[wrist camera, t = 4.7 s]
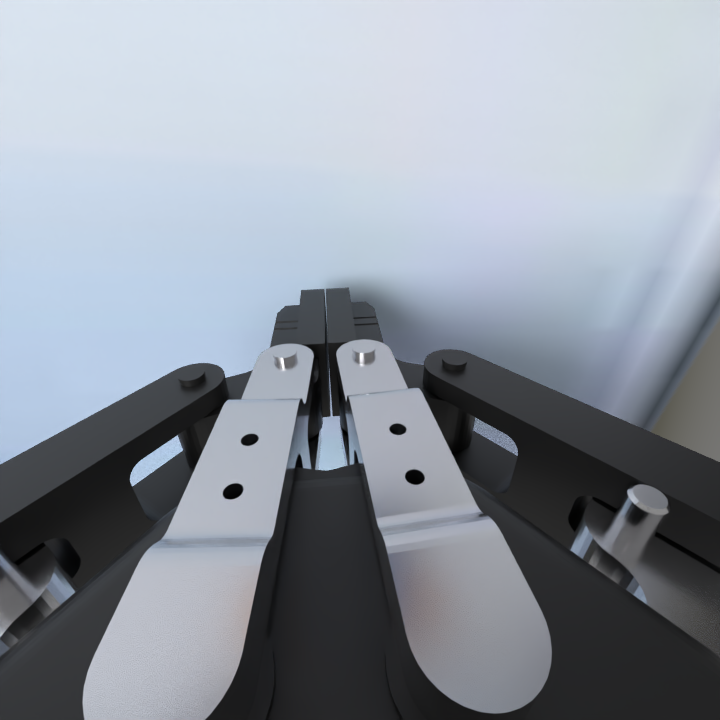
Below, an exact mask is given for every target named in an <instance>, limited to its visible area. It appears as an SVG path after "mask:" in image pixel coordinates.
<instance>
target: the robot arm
mask: <svg viewBox="0 0 720 720" xmlns="http://www.w3.org/2000/svg"><path fill="white" fill-rule="evenodd" d="M326 303H327V321H326V307H325V293H324V289H314V290H301V298H300V305H294V306H285V307H284V308H283V309H282V310H281V311H280V312H278V313H277V318H276V323H275V327H274V332H273V336H272V341H271V346H270V348H268V349H266V350H265V351H263V352H262V353H261V354H260V355H259V356H258V358H257V361H256V363H255V366H254V368H253V370H252V371H249V372H247V373H243V374H240V375H236V376H231V377H227V378H225V374H224V371H223V369H222V368H221V367H219V366H217V365H214V364H209V363H198V364H192V365H188V366H184V367H181V368H179V369H177V370H175V371H173V372H171V373H169V374H167V375H165V376H164V377H162V378H160V379H158V380H156V381H154V382H152V383H151V384H149V385H147V386H145V387H143V388H141V389H139V390H138V391H136V392H134V393H132V394H130V395H128V396H127V397H125V398H123V399H121V400H119V401H117V402H115V403H114V404H112V405H110V406H108V407H106V408H104V409H102V410H101V411H99V412H97V413H95V414H93V415H91V416H90V417H88V418H86V419H84V420H82V421H80V422H78V423H77V424H75V425H73V426H71V427H69V428H67V429H65V430H64V431H62V432H60V433H58V434H56V435H54V436H53V437H51V438H49V439H47V440H45V441H43V442H41V443H40V444H38V445H36V446H34V447H32V448H30V449H28V450H27V451H25V452H23V453H21V454H19V455H17V456H16V457H14V458H12V459H10V460H8V461H6V462H4V463H3V464H1V465H0V720H720V462H718V461H715V460H713V459H711V458H708V457H706V456H704V455H702V454H699V453H697V452H695V451H692V450H690V449H688V448H685V447H683V446H681V445H679V444H676V443H674V442H672V441H669V440H667V439H665V438H662V437H660V436H658V435H655V434H653V433H651V432H649V431H647V430H644V429H642V428H640V427H637V426H635V425H633V424H630V423H628V422H626V421H624V420H621V419H619V418H617V417H614V416H612V415H610V414H608V413H605V412H603V411H601V410H598V409H596V408H594V407H591V406H589V405H587V404H585V403H582V402H580V401H578V400H575V399H573V398H571V397H569V396H566V395H564V394H562V393H559V392H557V391H555V390H552V389H550V388H548V387H546V386H543V385H541V384H539V383H536V382H534V381H532V380H530V379H527V378H525V377H523V376H520V375H518V374H516V373H514V372H511V371H509V370H507V369H504V368H502V367H500V366H497V365H495V364H493V363H491V362H488V361H486V360H484V359H481V358H479V357H477V356H475V355H472V354H470V353H467V352H464V351H459V350H439V351H436V352H433V353H431V354H429V355H428V356H427V357H426V359H425V362H424V365H418V364H411V363H406V362H402V361H399V360H397V359H395V358H394V356H393V354H392V351H391V349H390V348H389V347H388V346H387V345H385V344H384V343H383V339H382V336H381V332H380V328H379V325H378V321H377V318H376V313H375V310H374V308H373V307H372V306H370V305H369V304H368V303H367V302H352V303H351V300H350V294H349V288H334V289H326ZM328 354H329V356H328ZM329 369H330V383H331V397H332V411H333V416H340V426H341V440H342V446H343V452H344V458H345V464H346V466H344V467H341V468H337V469H334V470H329V471H322V470H318V468H319V458H320V449H321V428H322V424H323V417H329V416H330V388H329ZM475 417H476V418H478V419H479V420H481V421H483V422H485V423H487V424H488V425H490V426H492V427H494V428H496V429H498V430H499V431H501V432H503V433H505V434H506V435H508V436H509V437H510V438H511V439H512V440H513V441H514V442H515V444H516V446H517V448H518V456H516V455H514V454H513V453H511V452H509V451H508V450H506V449H504V448H502V447H501V446H499V445H497V444H495V443H494V442H492V441H490V440H488V439H487V438H485V437H483V436H481V435H480V434H478V433H476V432H475V431H473V427H474V422H475ZM177 435H178V437H179V440H180V443H181V446H182V448H183V451H182V452H180V453H179V454H178V455H176V456H175V457H173V458H172V459H171V460H169V461H168V462H166V463H165V464H164V465H162V466H161V467H160V468H158V469H157V470H155V471H154V472H153V473H151V474H150V475H148V476H147V477H146V478H144V479H143V480H141V481H140V482H139V483H137V484H136V485H134V486H133V487H132V486H131V483H130V474H131V472H132V469H133V468H134V466H135V465H136V464H137V463H138V462H139V461H140V460H141V459H143V458H144V457H146V456H147V455H149V454H150V453H152V452H153V451H155V450H156V449H158V448H159V447H160V446H162V445H163V444H165V443H166V442H168V441H169V440H171V439H172V438H174V437H175V436H177Z"/></svg>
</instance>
